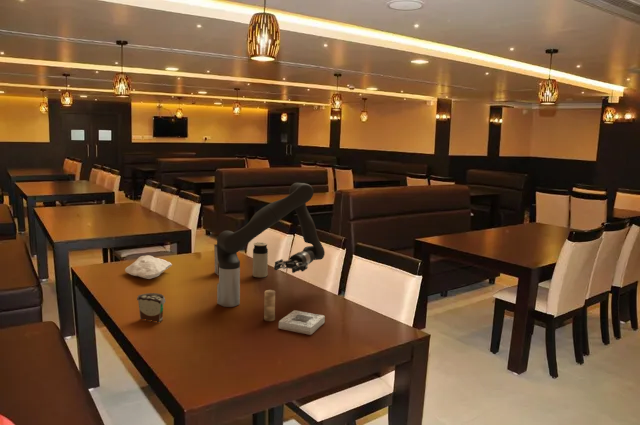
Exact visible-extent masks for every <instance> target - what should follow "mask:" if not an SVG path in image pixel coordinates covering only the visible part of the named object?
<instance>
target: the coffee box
mask: <svg viewBox="0 0 640 425" xmlns="http://www.w3.org/2000/svg"><path fill="white" fill-rule="evenodd" d="M213 245H214V274H216V275H217V276H219V262H218V258H217V243H216V244H213Z"/></svg>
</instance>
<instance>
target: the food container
mask: <svg viewBox="0 0 640 425" xmlns="http://www.w3.org/2000/svg"><path fill="white" fill-rule="evenodd" d="M136 301H138V308H139V310H138V311H139V318H140V319H146V320H152V321H157V322H160V323H162V322H163V316H164V305H165V303H166V298H165V296H164V295H163V294H162V293H157V292H148V293H147V292H146V293H142V294H138V295H137V298H136ZM146 320H145V321H146ZM161 321H162V322H161ZM157 322H156V323H157Z"/></svg>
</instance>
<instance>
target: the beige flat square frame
mask: <svg viewBox="0 0 640 425" xmlns="http://www.w3.org/2000/svg"><path fill="white" fill-rule="evenodd" d="M325 318H326V317H325V315H323V314H316V313H311V312H307V311H301V310H295V309H293V311H291V312H289V313H288V314H287V315H286V316H284V317H283V318H281V319H280V320H279V321H278V329H281V330H285V331H289V332H295V333H299V334H303V335H304V334H306V335H309V336H311V335H313V333H315V332H316V331H317V330H318V329H319V328H321V327H322V325H324V324H325V320H326V319H325Z"/></svg>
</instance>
